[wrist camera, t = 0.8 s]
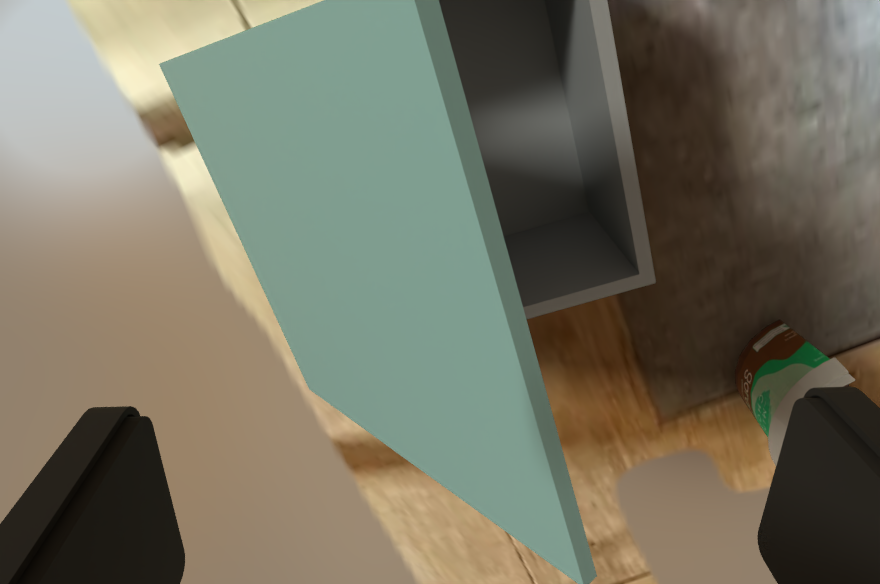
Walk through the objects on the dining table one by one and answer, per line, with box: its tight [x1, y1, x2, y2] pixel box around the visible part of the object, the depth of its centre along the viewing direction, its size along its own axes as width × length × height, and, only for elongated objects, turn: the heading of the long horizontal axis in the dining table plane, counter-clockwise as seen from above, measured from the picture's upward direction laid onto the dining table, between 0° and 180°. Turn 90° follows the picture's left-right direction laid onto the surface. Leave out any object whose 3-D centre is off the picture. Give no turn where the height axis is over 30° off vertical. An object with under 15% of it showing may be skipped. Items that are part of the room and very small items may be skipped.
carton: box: [439, 0, 656, 319], centre depth 39 cm, size 20×18×12 cm
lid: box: [159, 0, 597, 584], centre depth 26 cm, size 21×19×1 cm
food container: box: [735, 320, 856, 465], centre depth 49 cm, size 12×6×10 cm, turn 29°
